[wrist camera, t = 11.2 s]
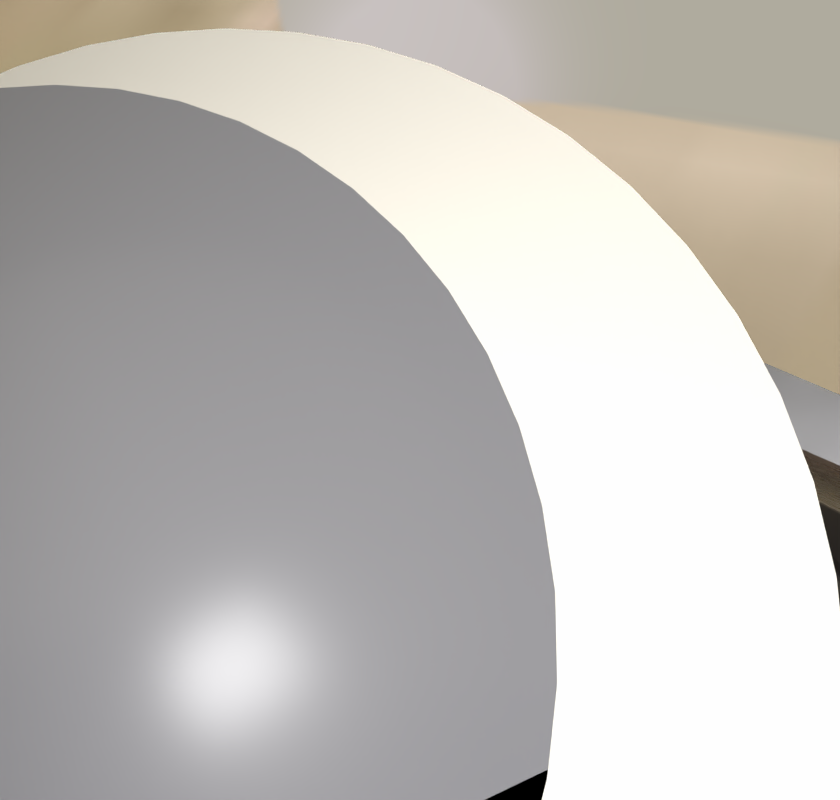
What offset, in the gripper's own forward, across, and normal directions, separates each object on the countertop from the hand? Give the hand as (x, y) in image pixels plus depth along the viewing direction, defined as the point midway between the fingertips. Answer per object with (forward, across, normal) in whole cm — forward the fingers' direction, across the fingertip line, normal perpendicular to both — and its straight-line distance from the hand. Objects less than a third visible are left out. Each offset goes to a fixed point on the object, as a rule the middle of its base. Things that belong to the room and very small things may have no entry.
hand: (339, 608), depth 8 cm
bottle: (+6, 0, +6) cm, 8 cm away
